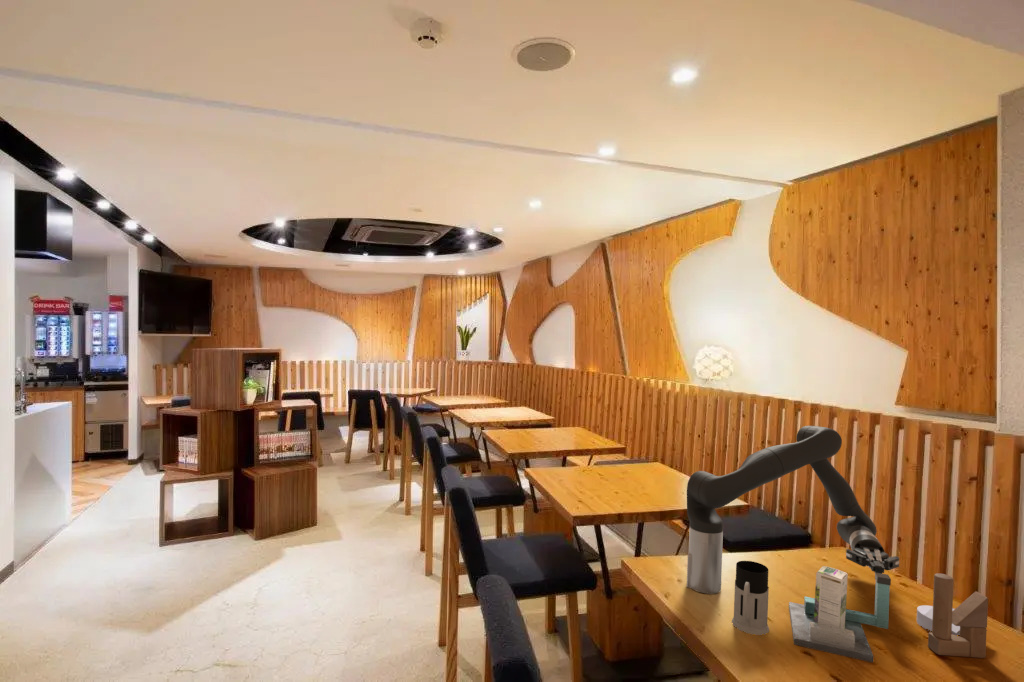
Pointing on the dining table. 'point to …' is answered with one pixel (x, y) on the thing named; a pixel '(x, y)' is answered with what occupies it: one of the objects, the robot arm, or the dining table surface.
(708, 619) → the dining table surface
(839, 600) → the syrup box
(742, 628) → the glass holder
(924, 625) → the wedge on round base
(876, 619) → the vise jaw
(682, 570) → the dining table surface
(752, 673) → the dining table surface
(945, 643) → the wooden block
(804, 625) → the vise
